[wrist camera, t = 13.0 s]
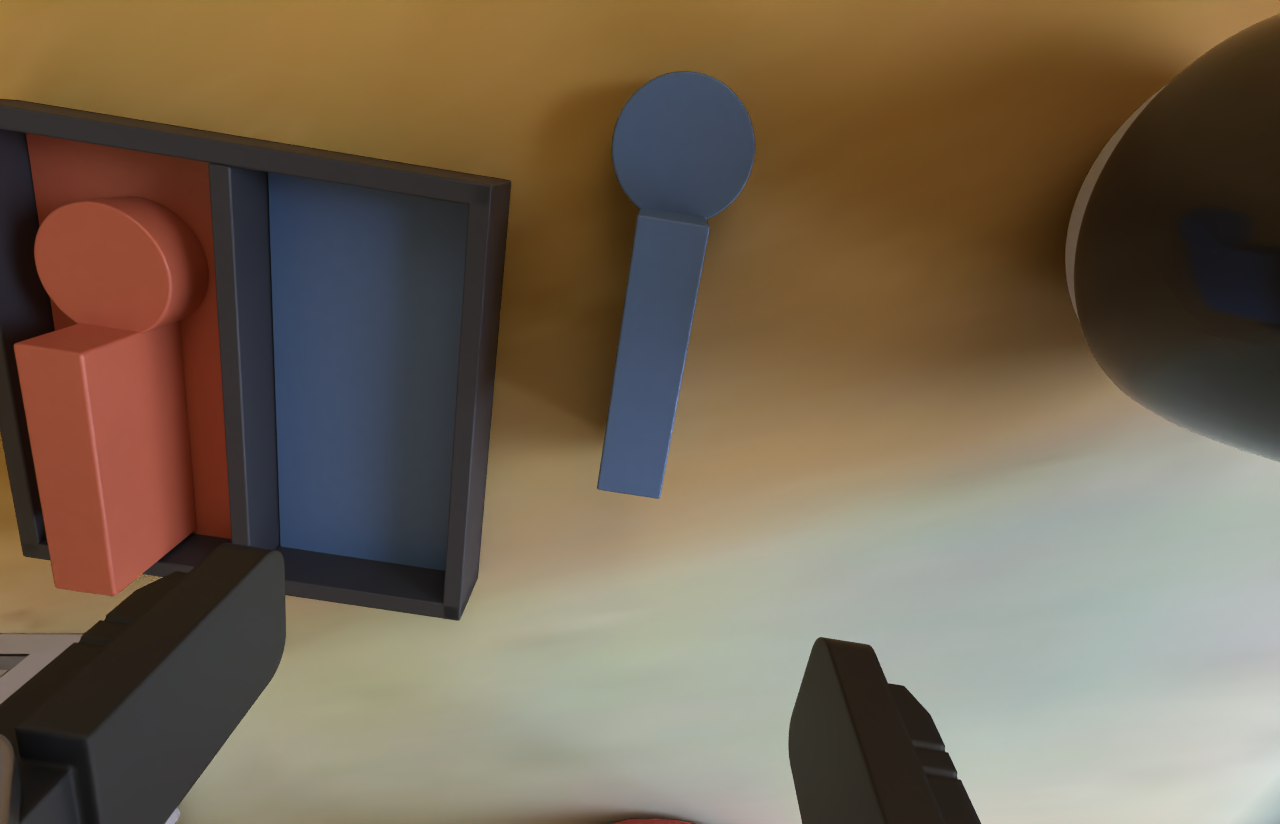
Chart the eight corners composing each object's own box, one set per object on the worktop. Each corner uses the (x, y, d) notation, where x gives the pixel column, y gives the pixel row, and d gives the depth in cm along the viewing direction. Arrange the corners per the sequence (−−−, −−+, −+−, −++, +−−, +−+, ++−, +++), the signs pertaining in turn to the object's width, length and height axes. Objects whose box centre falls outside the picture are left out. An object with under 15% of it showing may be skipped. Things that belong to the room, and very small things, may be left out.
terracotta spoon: (117, 517, 25) (19, 584, 21) (74, 186, 21) (-56, 196, 17) (226, 533, 25) (148, 603, 21) (205, 207, 21) (104, 221, 17)
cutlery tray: (18, 100, 21) (-65, 94, 18) (511, 180, 21) (492, 185, 19) (81, 519, 26) (22, 557, 23) (478, 578, 26) (459, 621, 24)
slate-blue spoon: (577, 430, 24) (561, 484, 20) (626, 66, 20) (616, 48, 16) (690, 447, 24) (694, 505, 20) (760, 88, 20) (782, 76, 16)
